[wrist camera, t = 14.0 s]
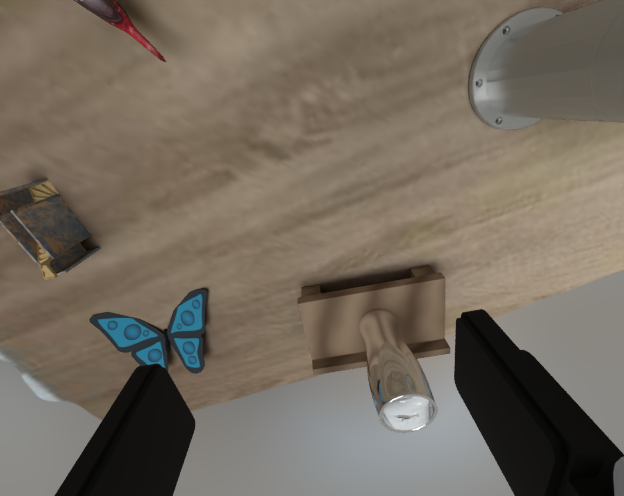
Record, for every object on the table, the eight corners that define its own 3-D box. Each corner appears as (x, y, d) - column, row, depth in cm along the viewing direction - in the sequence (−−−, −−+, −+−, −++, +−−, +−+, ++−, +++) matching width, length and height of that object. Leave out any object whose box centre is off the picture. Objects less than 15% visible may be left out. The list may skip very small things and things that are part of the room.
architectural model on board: (105, 246, 45) (57, 279, 36) (88, 252, 45) (37, 287, 37) (52, 176, 40) (-18, 196, 32) (34, 184, 41) (-40, 206, 32)
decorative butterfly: (137, 377, 55) (129, 389, 53) (96, 314, 50) (85, 324, 48) (239, 349, 55) (236, 360, 52) (209, 282, 49) (204, 291, 47)
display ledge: (431, 261, 47) (451, 285, 41) (432, 323, 53) (450, 353, 47) (298, 285, 49) (297, 312, 42) (312, 343, 54) (314, 374, 48)
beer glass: (378, 347, 48) (407, 441, 35) (346, 328, 46) (364, 419, 33) (408, 320, 46) (452, 409, 33) (376, 299, 44) (409, 384, 31)
